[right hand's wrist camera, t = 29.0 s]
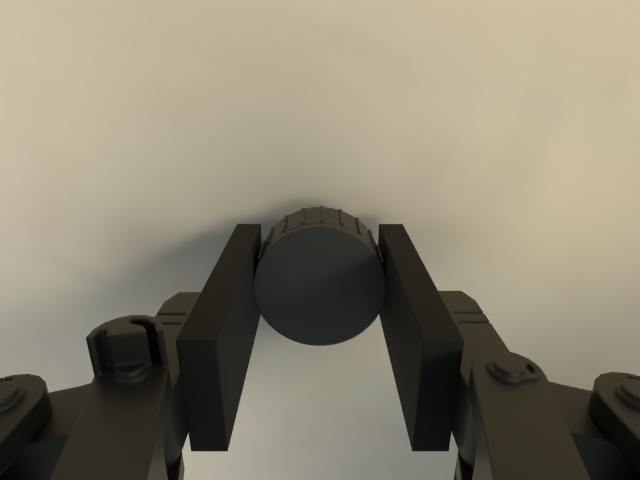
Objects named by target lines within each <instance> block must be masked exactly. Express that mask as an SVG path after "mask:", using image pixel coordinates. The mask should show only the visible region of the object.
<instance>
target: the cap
mask: <svg viewBox="0 0 640 480" xmlns="http://www.w3.org/2000/svg"><path fill="white" fill-rule="evenodd" d="M257 260H258V264H257V267H256V270H255V275H254V297H255V301H256V304H257V307H258V309H259V311H260V313H261V315H262V316H263V318H264V319H265V320H266V322H267V323H268V324H269V325H270V326H271V327H272V328H273V329H274V330H276V331H277V332H278V333H280V334H281V335H283V336H285V337H286V338H288V339H291V340H293V341H296V342H299V343H302V344H307V345H316V346H322V345H333V344H337V343H341V342H344V341H347V340H349V339H351V338H353V337H355V336H357V335H359V334H360V333H362V332H363V331H364V330H365V329H367V328H368V327H369V326H370V325H371V324H372V322H373V321H374V320H375V319H376V317H377V316H378V314H379V313H380V311H381V309H382V307H383V304H384V301H385V294H386V275H385V271H384V268H383V264H384V261H383V258H382V255H381V252H380V249H379V246H378V245H376V243H375V241H374V239H373V236H372V233H371V231H370V230H367V228H366V227H365V226H364V225H363V224H362V223H361V222H360V221H359V219H358V218H357V217H356V218H354V217H353V216H351V215H349V214H347V213H345V212H342V210H341V209H339V210H336V209H332V208H324V207H323V206H321V207H317V208H308V209H305V208H302V210H300V211H297V212H295V213H293V214H290V215H289V216H287V215H286V216H285V217H284V219H283V220H281V221H280V222H279V223H278V224H277V225H276V226H275V227H272V228H271V230H270V233H269V235H268V237H267V238H266V240H265V241H263V243H262V246H261V249H260V252H259V255H258V258H257Z"/></svg>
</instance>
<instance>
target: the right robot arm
mask: <svg viewBox="0 0 640 480" xmlns="http://www.w3.org/2000/svg"><path fill="white" fill-rule="evenodd" d="M261 246H262V240H261V224H237V226H236V228H235V230H234V232H233V234H232V235H231V237H230V239H229V241H228V243H227V245H226V247H225V249H224V251H223V252H222V254H221V256H220V258H219V260H218V262H217V264H216V266H215V267H214V269H213V271H212V273H211V275H210V277H209V279H208V281H207V283H206V284H205V286H204V288H203V290H202V292H179V293H177V294H176V295H174V296H173V297H171V298H170V299H168V300H167V301H165V302H164V304H163V305H162V307H161V308H160V310H159V311H158V313H157V316H155V317H150V316H146V315H131V316H126V317H121V318H117V319H114V320H111V321H108V322H106V323H104V324H102V325H100V326H99V327H97V328H95V329H94V330H93V331H92V332H91V333H90V334H89V335H88V336H87V337H86V340H87V345H88V349H89V353H90V358H91V362H92V366H93V371H94V375H95V376H94V378H93V381H92V383H90V384H87V385H83V386H79V387H75V388H70V389H65V390H60V391H56V392H51V393H48V390H47V386H46V383H45V381H44V380H43V379H42V378H40V377H39V376H35V375H30V374H22V375H12V376H8V377H5V378H0V480H183V478H184V463H183V456H182V449H183V446H184V443H185V440H186V438H187V435H188V432H189V438H190V445H191V451H228V447H229V443H230V439H231V435H232V431H233V426H234V422H235V418H236V414H237V410H238V406H239V402H240V397H241V393H242V389H243V385H244V381H245V377H246V373H247V368H248V364H249V360H250V356H251V352H252V348H253V344H254V339H255V335H256V331H257V327H258V323H259V319H260V315H261V313H260V311H259V309H258V307H257V304H256V301H255V297H254V275H255V270H256V267H257V264H258V260H257V258H258V255H259V252H260V249H261ZM378 246H379V249H380V252H381V255H382V258H383V261H384V264H383V268H384V271H385V275H386V294H385V301H384V304H383V307H382V309H381V311H380V313H379V315H380V319H381V324H382V328H383V332H384V336H385V340H386V344H387V348H388V353H389V357H390V361H391V365H392V369H393V373H394V377H395V381H396V386H397V390H398V394H399V398H400V402H401V406H402V410H403V415H404V419H405V423H406V427H407V431H408V435H409V439H410V444H411V448H412V451H449V444H450V437H451V430H452V433H453V436H454V439H455V441H456V444H457V447H458V456H457V462H456V469H455V476H454V480H640V376H635V375H633V374H628V373H618V372H611V373H605V374H601V375H600V376H599V377H598V378H596V379H595V382H594V385H593V389H592V391H589V390H584V389H579V388H574V387H569V386H565V385H560V384H556V383H553V382H549V381H548V380H547V378H546V375H545V374H544V373H543V371H542V370H541V369H540V367H539V366H538V365H536V364H535V363H533V362H532V361H531V360H529V359H528V358H525V357H523V356H521V355H518V354H516V353H512V352H509V350H508V349H507V347H506V346H505V344H504V343H503V341H502V340H501V338H500V337H499V335H498V334H497V332H496V331H495V329H494V328H493V326H492V325H491V324H489V320H488V319H487V317H486V316H485V314H483V311H482V310H481V308H480V307H479V305H478V304H477V302H476V301H475V300H474V299H472V298H471V297H469V296H468V295H466V294H465V293H463V292H462V291H438V290H437V289H436V287H435V285H434V283H433V281H432V279H431V277H430V275H429V273H428V272H427V270H426V268H425V266H424V264H423V262H422V260H421V258H420V256H419V255H418V253H417V251H416V249H415V247H414V245H413V243H412V241H411V240H410V238H409V236H408V234H407V232H406V230H405V228H404V226H403V224H379V237H378Z"/></svg>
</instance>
